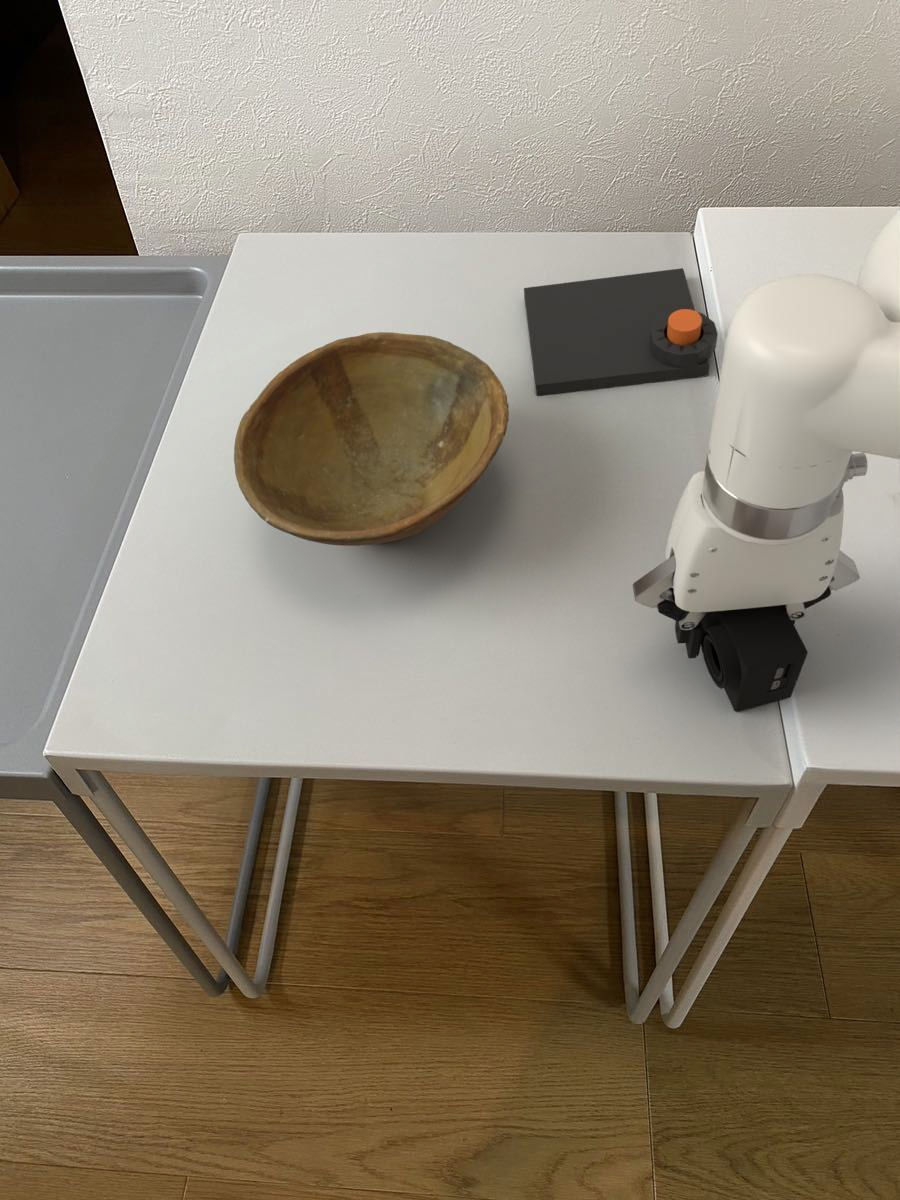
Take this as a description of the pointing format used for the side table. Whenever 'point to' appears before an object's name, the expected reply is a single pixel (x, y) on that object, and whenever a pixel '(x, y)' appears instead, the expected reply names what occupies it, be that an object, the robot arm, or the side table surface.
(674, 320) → the button
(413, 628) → the side table surface
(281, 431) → the bowl
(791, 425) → the robot arm
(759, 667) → the digital camera
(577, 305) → the scale
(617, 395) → the side table surface
